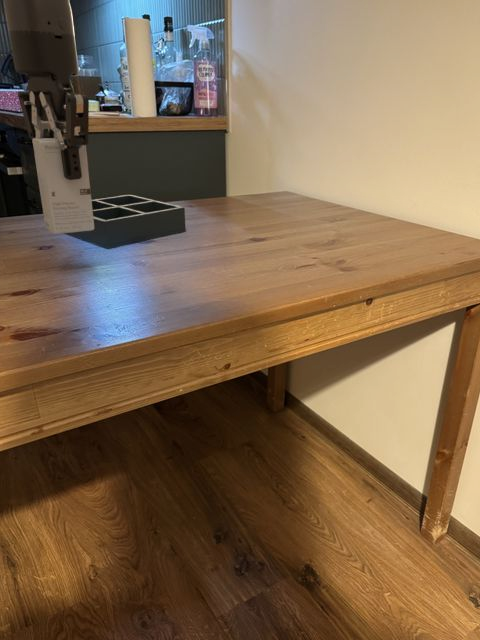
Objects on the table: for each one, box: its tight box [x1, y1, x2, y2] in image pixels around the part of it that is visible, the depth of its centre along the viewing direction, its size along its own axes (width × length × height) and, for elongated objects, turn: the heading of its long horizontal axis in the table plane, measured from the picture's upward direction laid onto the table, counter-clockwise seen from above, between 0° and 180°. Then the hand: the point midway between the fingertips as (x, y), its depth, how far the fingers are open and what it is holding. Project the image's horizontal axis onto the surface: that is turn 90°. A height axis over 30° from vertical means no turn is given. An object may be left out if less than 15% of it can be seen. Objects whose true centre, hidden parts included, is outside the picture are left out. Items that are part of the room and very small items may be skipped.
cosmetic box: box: [31, 138, 94, 235], centre depth 69 cm, size 6×4×12 cm
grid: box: [64, 194, 187, 249], centre depth 94 cm, size 17×17×5 cm
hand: (63, 175), depth 69 cm, fingers closed on cosmetic box, 4 cm apart
